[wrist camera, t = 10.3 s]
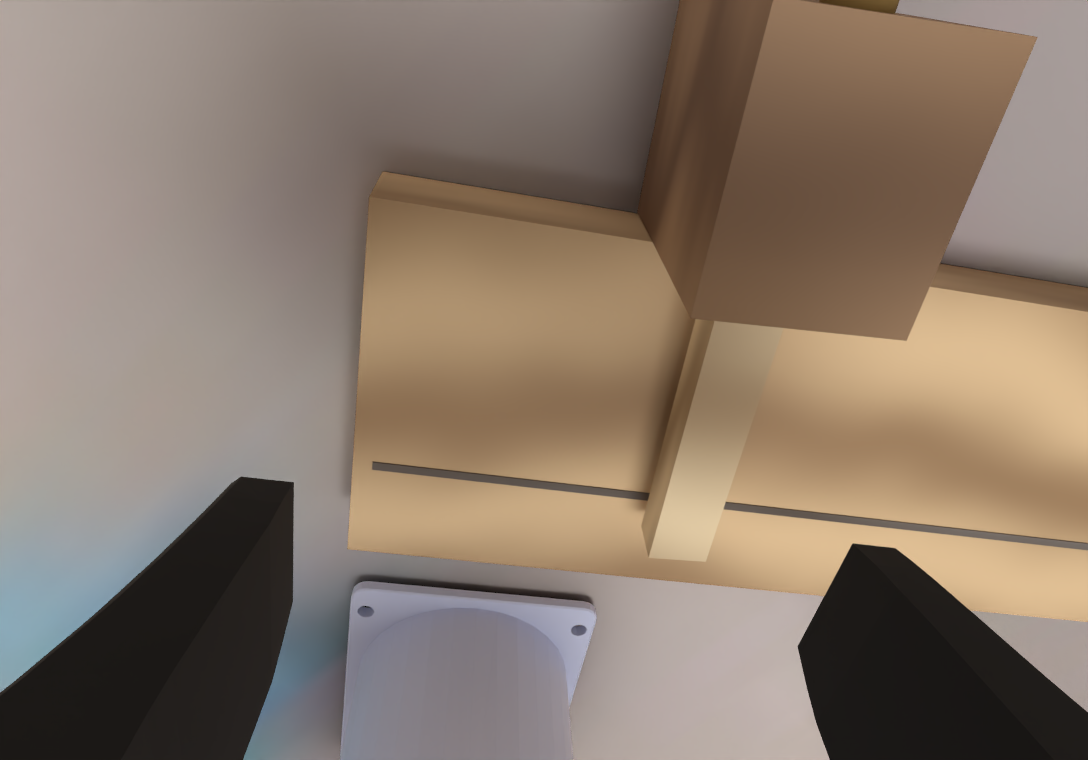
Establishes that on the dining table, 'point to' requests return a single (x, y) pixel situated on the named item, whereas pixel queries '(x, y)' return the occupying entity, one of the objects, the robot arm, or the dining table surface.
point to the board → (647, 399)
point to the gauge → (801, 201)
